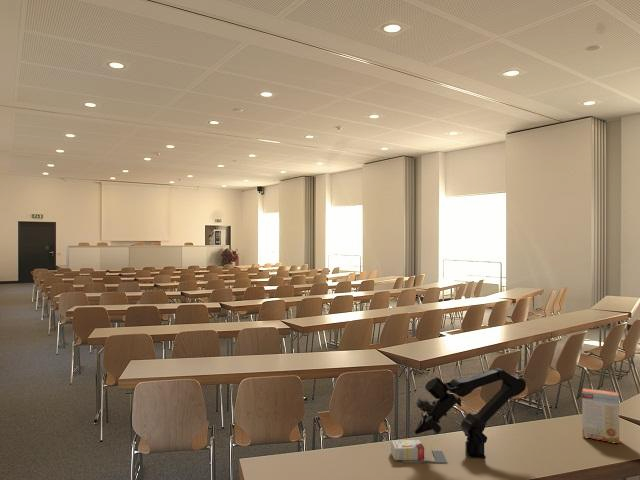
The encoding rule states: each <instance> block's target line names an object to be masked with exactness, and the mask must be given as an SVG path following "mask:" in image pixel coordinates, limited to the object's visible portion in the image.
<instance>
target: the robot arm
mask: <svg viewBox="0 0 640 480" xmlns="http://www.w3.org/2000/svg"><path fill="white" fill-rule="evenodd" d="M498 381H502V382H501V386H500V389H499V390H498V391H497V392H496V393H495V394H494V395H493V396H492V397H491V398H490V399H489V400H488V401H487V402H486V403H485V405H483V407H482V408H481V409H479V411H478V412H476V413H475V414H472V413H471V412H469V413H467V414H466V416H465V417H464V418H462V421H461V423H460V429H461V431H462V432H463V433H464V436H465V437H466V441H465V442H464V443H465V454H467V456H468V457H469V458H479V459H480V458H481V459H482V458H483V459H485V458H486V455H485V443H487V440H488V437H487V435H485V434H484V432H485V431H484V430H485V428H486V425H487V422H489V420H490V419H491V418H493V416H495V414H497V412H498V411H500V409H501V408H503V406H504V405H505V404H506V403H507V402H508V401H509V400H510V399H511V398H515V397H517V396H519V395H520V394H522V393H524V391H525V390H526V389H527V383H526V381H525V379H523V378H521V377H520V376H516V375H515V374H510V373H508V372H506V371H505V370H504V369H501V368H500V367H495V368H493V369H490V370H488V371H485V372H482V373H479V374H476V375H474V376H471V377H459V378H458V377H457V378H453V379H452V380H450V381H447V382H443V381H442V380H441V378H439V376H435V377H434V378H432V379H430V380H428V381H427V382H426V384H425V390H426V391H427V392H428V393H429V394H430V395H431V396H432V397H433V398H434V399H436V400H433V401H429V400H428V399H425V398H423V397H421V396H419V397H418V398H417V401H416V403H415V405H416V406H417V408H418V409H420V410H421V411H422V412H423V413H422V412H421V413H420V417H421V418H420V421H419V423H418V424H417V426H416V428H415V430H414V434H416V435H420V434H422V433H424V432H427V431H431V430H432V431H434V432H435V433H436V434H439V433H440V432H441V431H442V426H441V425H440V423H441V419H442V418H443V417H444V416H445V417H447V416H448V412H449V411H450V410H451V409H452V408H454V407H455V405H456V404H457V405H458V406H459V407H462V399H461V398H465V397H466V396H468V395H470V394H472V392H473V391H474V390H476V389H478V388H480V387H485V386H486V385H490V384H493V383H494V382H495V383H496V382H498ZM457 396H458V397H457Z"/></svg>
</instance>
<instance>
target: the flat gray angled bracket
mask: <svg viewBox="0 0 640 480" xmlns="http://www.w3.org/2000/svg"><path fill="white" fill-rule="evenodd" d="M431 453H432V455H433V457H434V459H435V460H402V462H403V463H411V464H412V463H416V464H418V463H420V464H427V463H428V464H448V460H447V458H446V456H445V455H444V452H443V450H431Z"/></svg>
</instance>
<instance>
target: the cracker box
mask: <svg viewBox="0 0 640 480" xmlns="http://www.w3.org/2000/svg"><path fill="white" fill-rule="evenodd" d="M619 397H620V395H619V392H616V391H609V390H608V391H607V390H599V389H594V388H582V392H581V407H582V408H581V414H582V415H581V416H582V417H581V418H582V420H581V423H582V426H581V427H582V432H581V433H582V438H583V437H588V438H592V439H599V440H604V441H610V442H615V443H619V444H620V398H619ZM592 439H591V440H592Z"/></svg>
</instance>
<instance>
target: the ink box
mask: <svg viewBox="0 0 640 480" xmlns="http://www.w3.org/2000/svg"><path fill="white" fill-rule="evenodd" d="M390 454H391V455H392V457H393V460H394V461H403V460H421V461H425V446H424V445H423V444H422V442H421V441H420V439H407V440H404V439H403V440H402V439H401V440H397V439H396V440H395V439H394V440H391V441H390Z"/></svg>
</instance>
